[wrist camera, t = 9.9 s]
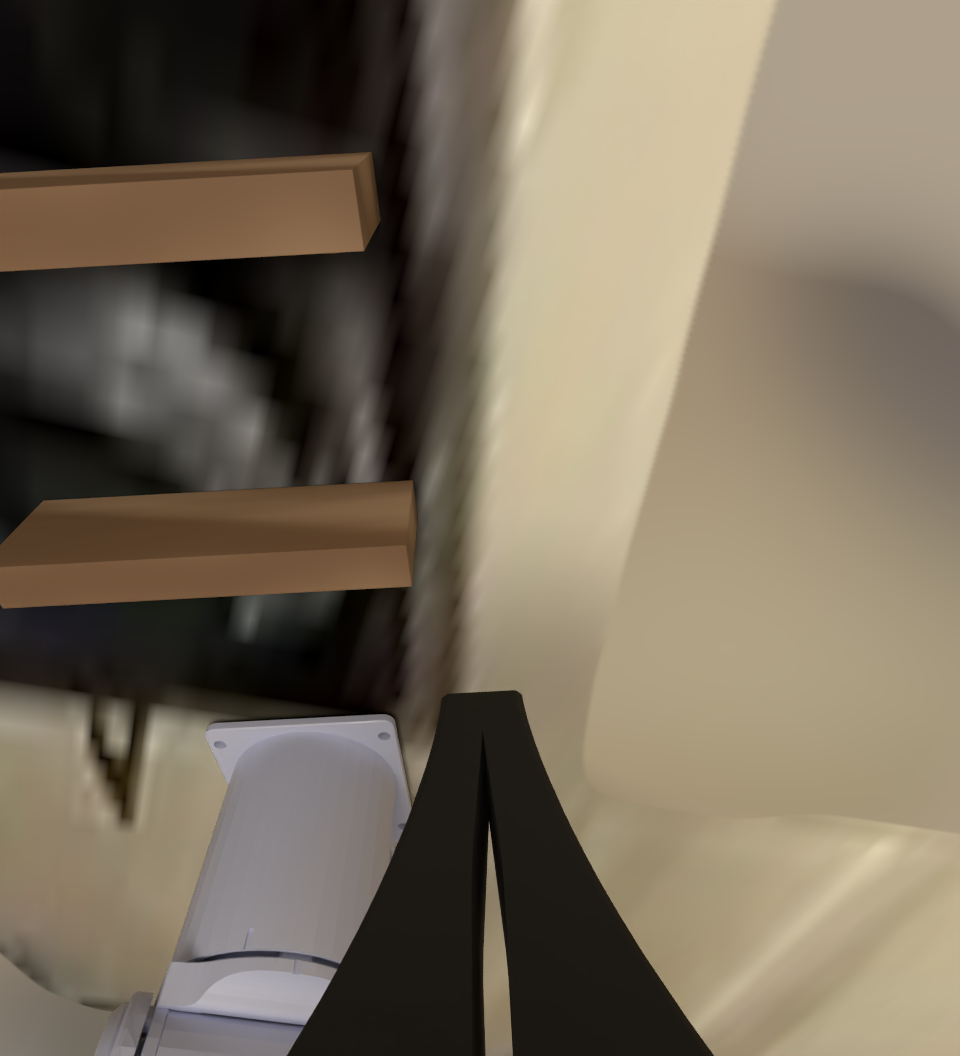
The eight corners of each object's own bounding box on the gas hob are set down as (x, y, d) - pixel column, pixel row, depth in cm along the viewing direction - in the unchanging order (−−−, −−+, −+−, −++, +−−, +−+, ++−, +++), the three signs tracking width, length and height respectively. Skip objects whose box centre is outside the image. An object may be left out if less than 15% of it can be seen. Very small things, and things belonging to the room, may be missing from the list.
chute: (417, 518, 22) (411, 586, 19) (62, 538, 22) (2, 608, 19) (372, 152, 15) (352, 169, 13) (-125, 180, 15) (-257, 204, 13)
